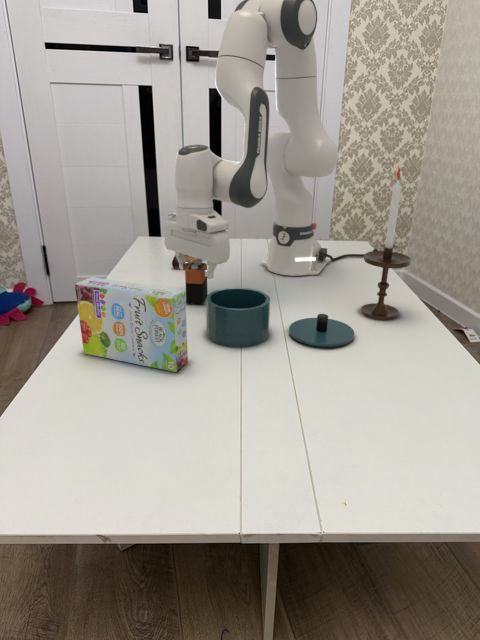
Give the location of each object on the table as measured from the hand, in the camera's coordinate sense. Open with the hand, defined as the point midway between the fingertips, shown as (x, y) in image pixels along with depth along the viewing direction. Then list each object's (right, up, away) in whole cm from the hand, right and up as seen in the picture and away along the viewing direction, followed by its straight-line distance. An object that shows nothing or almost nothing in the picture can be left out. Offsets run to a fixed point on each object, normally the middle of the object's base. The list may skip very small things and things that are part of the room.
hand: (196, 273), depth 127 cm
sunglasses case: (-7, +9, +35) cm, 36 cm away
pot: (+11, -16, -14) cm, 24 cm away
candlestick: (+46, -10, -1) cm, 47 cm away
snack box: (-9, -21, -26) cm, 35 cm away
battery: (0, -7, +4) cm, 8 cm away
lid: (+30, -15, -14) cm, 36 cm away
